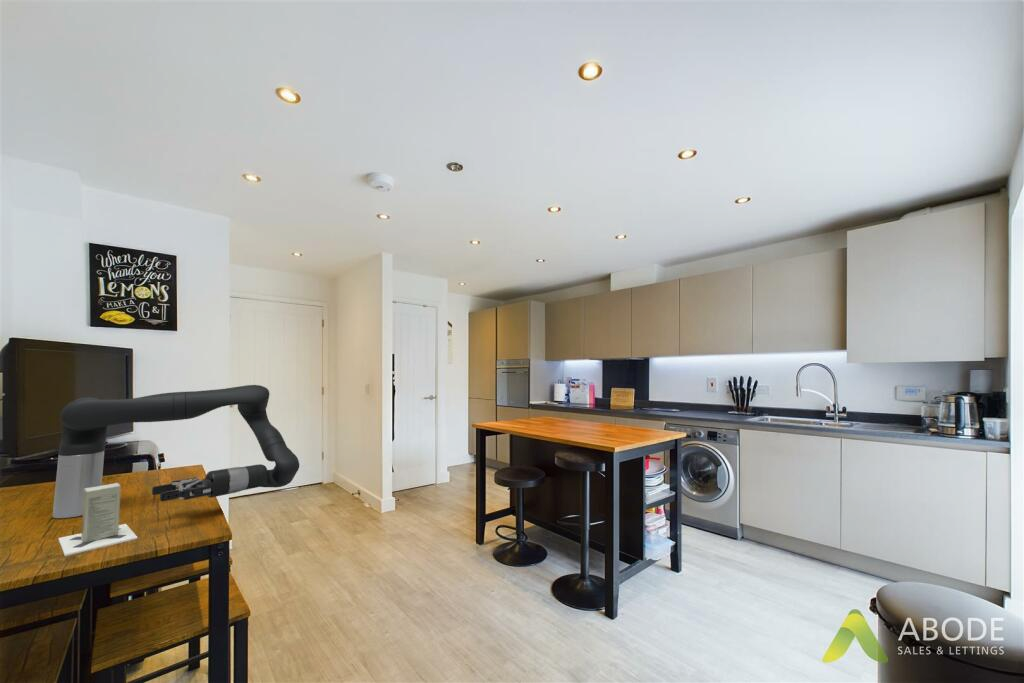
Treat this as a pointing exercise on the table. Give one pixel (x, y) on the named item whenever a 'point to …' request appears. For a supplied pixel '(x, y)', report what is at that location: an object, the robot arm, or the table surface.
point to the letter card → (76, 545)
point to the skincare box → (100, 512)
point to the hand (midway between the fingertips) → (156, 494)
